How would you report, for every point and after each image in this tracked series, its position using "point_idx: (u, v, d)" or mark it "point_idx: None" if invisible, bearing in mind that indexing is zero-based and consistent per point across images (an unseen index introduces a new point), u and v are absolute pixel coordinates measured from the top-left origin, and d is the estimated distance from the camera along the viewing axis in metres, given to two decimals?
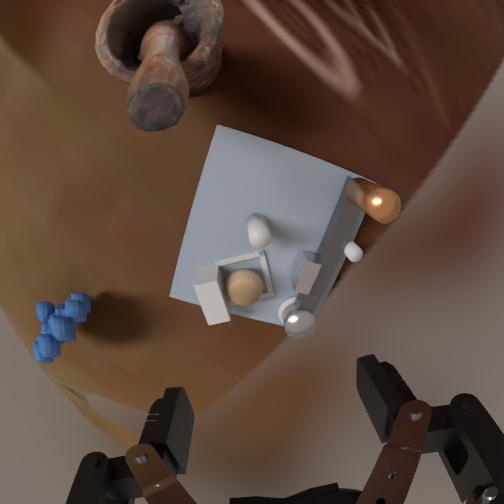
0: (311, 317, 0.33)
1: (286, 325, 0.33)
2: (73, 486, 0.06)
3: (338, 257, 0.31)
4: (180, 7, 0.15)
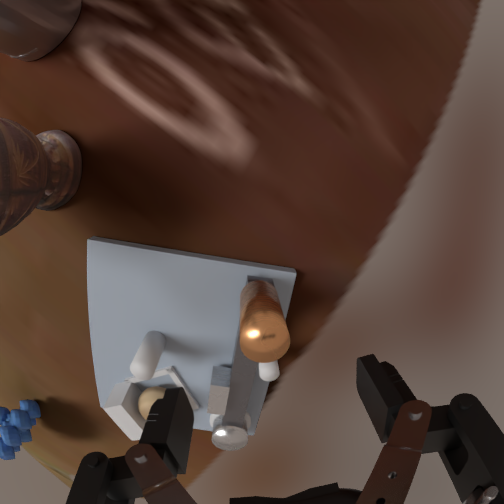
0: (238, 433, 0.25)
1: (213, 440, 0.26)
2: (73, 486, 0.06)
3: (253, 374, 0.24)
4: None
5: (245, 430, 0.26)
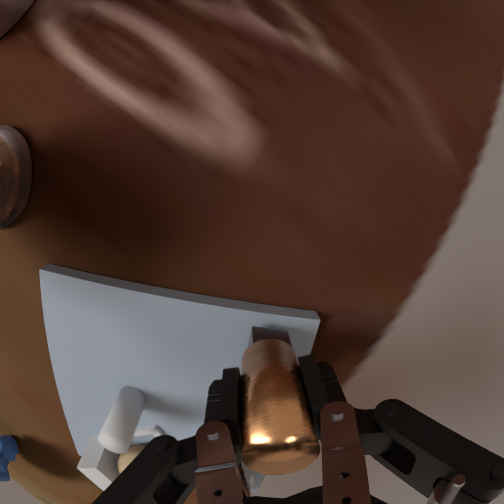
0: None
1: None
2: (131, 464, 0.08)
3: None
4: None
5: None
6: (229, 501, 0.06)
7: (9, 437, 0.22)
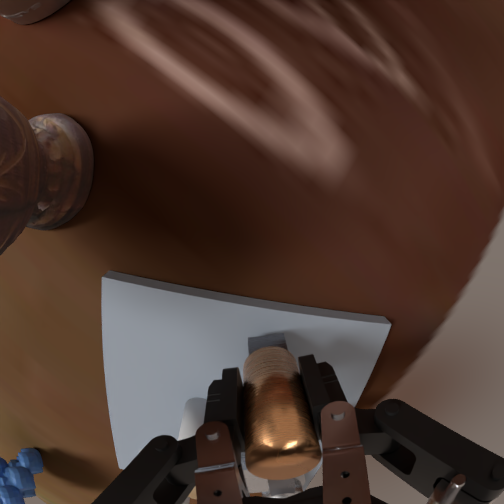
0: None
1: None
2: (130, 464, 0.08)
3: None
4: None
5: None
6: (229, 501, 0.06)
7: (33, 450, 0.21)
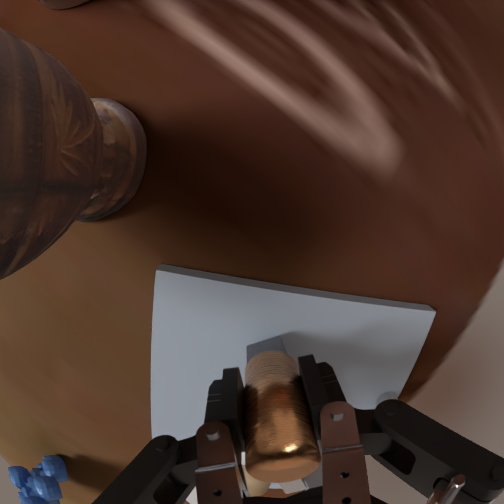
0: None
1: None
2: (131, 464, 0.08)
3: None
4: None
5: None
6: (229, 501, 0.06)
7: (57, 457, 0.21)
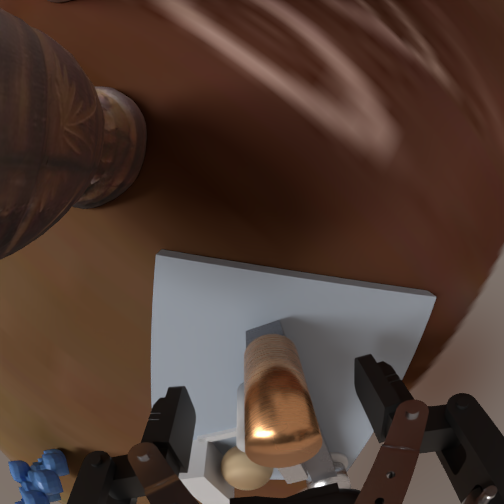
0: None
1: None
2: (75, 485, 0.06)
3: None
4: None
5: (342, 475, 0.19)
6: None
7: (57, 451, 0.22)
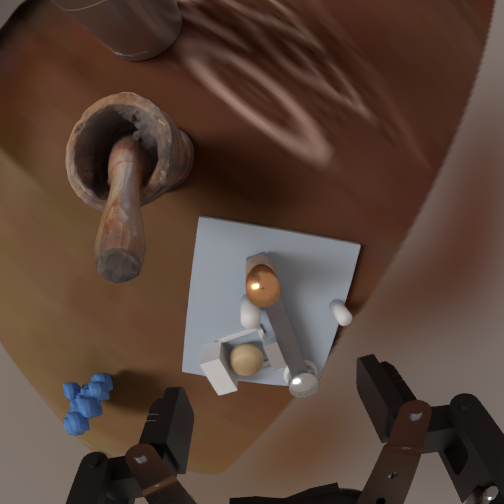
0: (306, 377, 0.33)
1: (292, 392, 0.34)
2: (73, 486, 0.06)
3: (289, 324, 0.32)
4: (135, 124, 0.20)
5: (312, 373, 0.34)
6: None
7: None
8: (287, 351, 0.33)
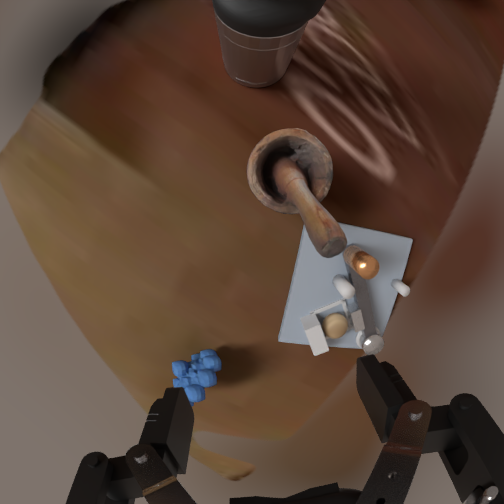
0: (376, 337, 0.44)
1: (365, 351, 0.44)
2: (73, 486, 0.06)
3: (368, 296, 0.42)
4: (296, 150, 0.30)
5: (379, 335, 0.44)
6: None
7: None
8: (365, 317, 0.43)
